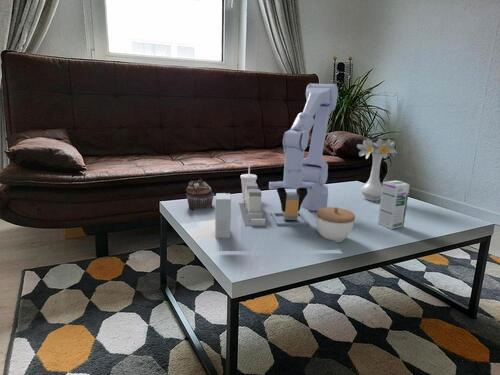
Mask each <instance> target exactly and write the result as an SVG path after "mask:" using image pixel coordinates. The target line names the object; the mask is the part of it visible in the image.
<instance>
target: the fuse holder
mask: <svg viewBox="0 0 500 375" xmlns="http://www.w3.org/2000/svg"><path fill="white" fill-rule="evenodd" d="M238 205H239V209H240V212H241V216H242V220H243V224H244V227H272V225H271V223H270V221H269V219H268V216H267V214H266V212H265V210H264V208H263V205H262V204H261V210H248V213H247V203H246V206H245V198H244V199H243V202H239V203H238Z"/></svg>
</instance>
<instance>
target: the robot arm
mask: <svg viewBox="0 0 500 375" xmlns="http://www.w3.org/2000/svg"><path fill="white" fill-rule="evenodd" d="M338 89H339V88H338V85H337V84H336V83H312V82H310V83H309V84H307V86H306V89H305V98H306V102H305V105H304V108H303V111H302V112H299V113H298V114H297V116H296V117H295V119H294V121H293V124H292V125H291V127H290V129H288V130H287V131H284V134H283V138H282V147H283V154H284V162H283V163H284V164H283V166H284V167H283V180H281V181H280V180H279V181H269V182H268V189H269V190H276V192H277V194H278V197H279V201H280V206H281V212H282V213H283V212H285V201H286V195H287V193H286V192H287V191H286V190H296V193H297V194H298V195H299V205H298V213H300V210H301V208H303V209H307V210H308V211H316V212H317V210H318V209H320V208H325V207H327V206H328V197H329V188H328V186H327V184H326V183H327V181H328V175H329V174H328V173H329V172H328V171H329V170H328V169H329V164H328V163H327V161H325V160H324V159H323V154H324V153H323V152H324V147H325V143H326V135H327V130H328V125H329V124H328V123H329V118H330V115H331V112H333V111H335V110H336V107H337V103H338V98H339V97H338V96H339V90H338ZM311 130H312V132H311ZM310 132H311V139H310ZM309 139H310V143H309ZM308 143H309V151H308V156H307V157H305V150H306V149H307V147H308Z"/></svg>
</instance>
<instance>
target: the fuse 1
mask: <svg viewBox="0 0 500 375" xmlns="http://www.w3.org/2000/svg"><path fill="white" fill-rule="evenodd" d="M248 189H259V184H257V182H256V183H246V185H245V206H246V203H247V200H248Z"/></svg>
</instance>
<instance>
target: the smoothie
mask: <svg viewBox="0 0 500 375" xmlns="http://www.w3.org/2000/svg"><path fill="white" fill-rule="evenodd" d="M247 172H248V173H243V174H241V175H240V179H241V192H242V193H241V194H242V199H243V200H244V198H245V185H246V183H257V182H256V181H257V179H258V175H256V174H254V173H253V174H252V173H250V172H251V163H248V170H247Z"/></svg>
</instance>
